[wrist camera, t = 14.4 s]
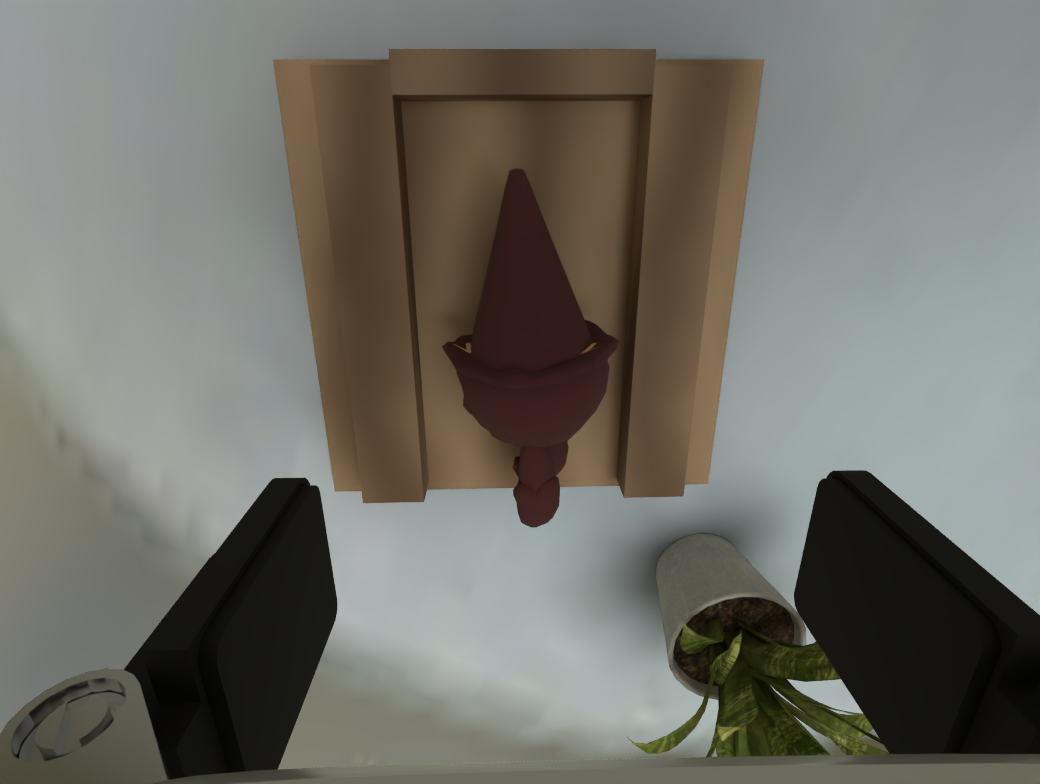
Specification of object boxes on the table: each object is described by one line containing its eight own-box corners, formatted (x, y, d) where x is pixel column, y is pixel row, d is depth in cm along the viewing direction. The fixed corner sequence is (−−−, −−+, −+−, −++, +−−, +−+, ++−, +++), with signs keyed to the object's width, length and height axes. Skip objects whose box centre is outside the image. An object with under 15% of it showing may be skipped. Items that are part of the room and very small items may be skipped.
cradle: (749, 66, 24) (787, 49, 21) (698, 470, 32) (721, 503, 28) (286, 66, 24) (252, 49, 21) (342, 477, 31) (323, 512, 28)
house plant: (804, 662, 37) (1014, 999, 22) (597, 679, 37) (663, 1028, 22) (832, 474, 32) (1130, 744, 17) (591, 493, 32) (672, 781, 17)
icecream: (383, 187, 18) (448, 540, 25) (611, 171, 17) (615, 554, 23) (451, 166, 24) (488, 455, 31) (623, 152, 23) (624, 461, 29)
